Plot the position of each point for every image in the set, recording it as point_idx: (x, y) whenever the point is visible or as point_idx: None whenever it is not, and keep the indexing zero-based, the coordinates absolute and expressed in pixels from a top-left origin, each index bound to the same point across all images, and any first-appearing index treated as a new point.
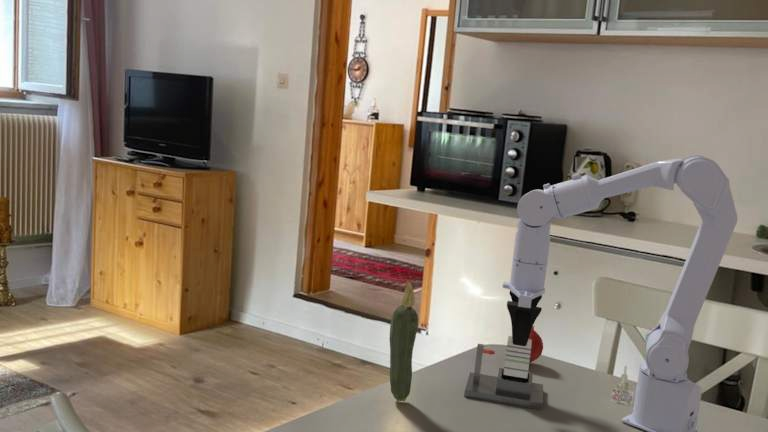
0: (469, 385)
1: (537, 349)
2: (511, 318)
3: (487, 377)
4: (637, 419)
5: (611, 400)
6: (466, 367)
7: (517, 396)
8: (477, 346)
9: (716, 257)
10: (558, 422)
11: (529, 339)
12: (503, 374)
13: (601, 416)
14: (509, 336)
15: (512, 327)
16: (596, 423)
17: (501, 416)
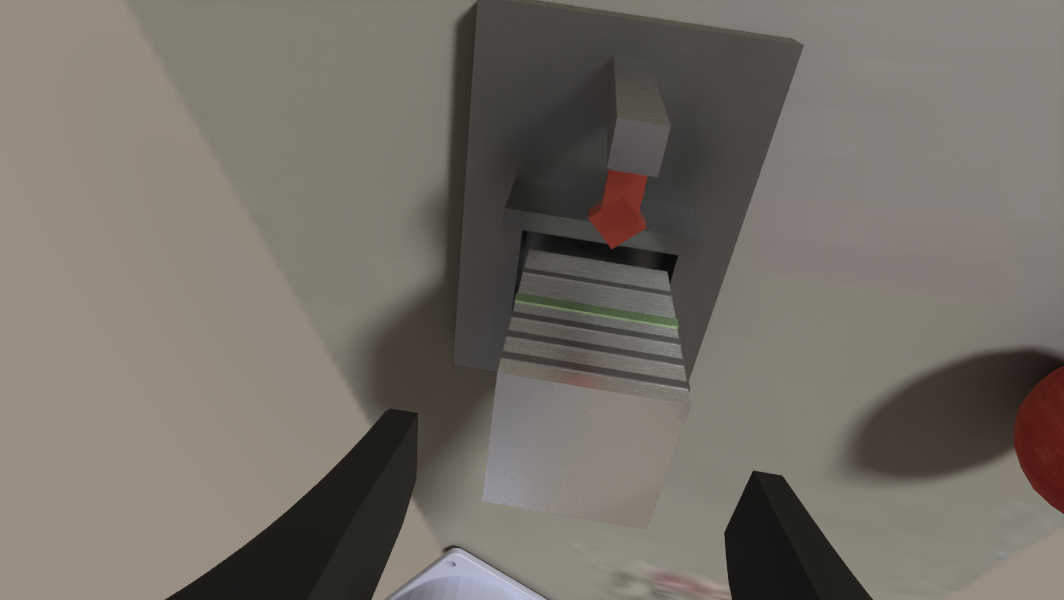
0: (558, 30)
1: (1034, 482)
2: (199, 581)
3: (725, 153)
4: (438, 587)
5: (640, 565)
6: (1017, 25)
7: (487, 276)
8: (618, 115)
9: None
10: (367, 379)
11: (641, 518)
12: (530, 250)
13: (484, 508)
14: (674, 409)
15: (295, 506)
16: (417, 482)
17: (316, 177)
